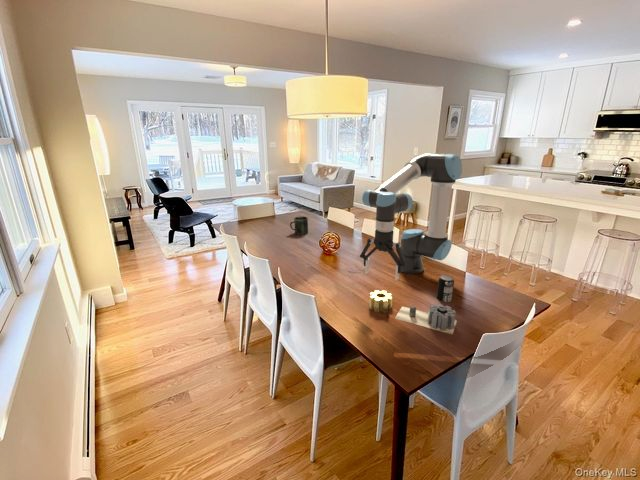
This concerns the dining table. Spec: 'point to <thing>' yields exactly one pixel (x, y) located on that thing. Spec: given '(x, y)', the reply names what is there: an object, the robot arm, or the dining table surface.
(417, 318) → the gear board
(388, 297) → the brass gear
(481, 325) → the dining table surface
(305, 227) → the mug
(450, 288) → the beverage can
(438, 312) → the gear
